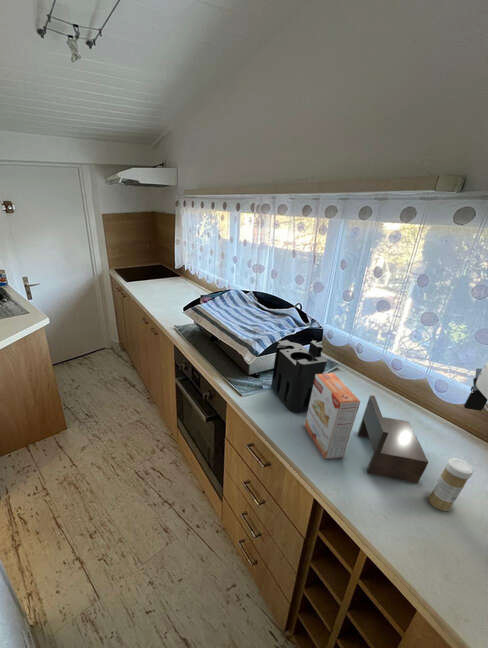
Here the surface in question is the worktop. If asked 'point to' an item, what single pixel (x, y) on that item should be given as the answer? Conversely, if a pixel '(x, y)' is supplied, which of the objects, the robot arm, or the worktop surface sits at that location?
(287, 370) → the black machined bracket
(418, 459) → the spice shelf
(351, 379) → the worktop surface
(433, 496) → the sprinkles bottle
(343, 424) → the cracker box
